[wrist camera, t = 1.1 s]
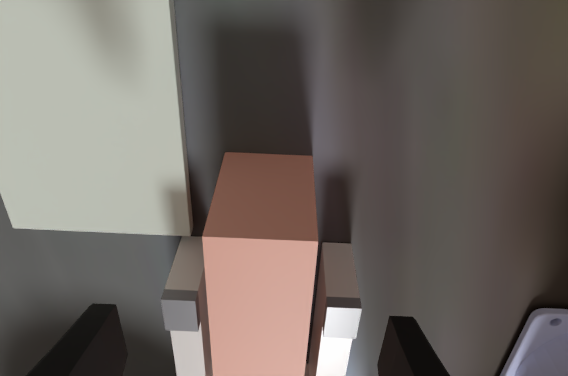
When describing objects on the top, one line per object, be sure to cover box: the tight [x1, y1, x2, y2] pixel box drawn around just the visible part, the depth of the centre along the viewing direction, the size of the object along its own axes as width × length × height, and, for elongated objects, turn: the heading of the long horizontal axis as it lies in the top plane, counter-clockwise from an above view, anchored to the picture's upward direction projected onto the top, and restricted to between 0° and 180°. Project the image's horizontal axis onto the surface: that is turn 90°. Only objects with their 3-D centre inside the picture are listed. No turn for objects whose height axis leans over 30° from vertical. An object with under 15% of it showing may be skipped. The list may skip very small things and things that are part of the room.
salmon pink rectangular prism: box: [202, 152, 318, 376], centre depth 17 cm, size 3×10×5 cm, turn 178°
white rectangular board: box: [0, 0, 193, 236], centre depth 14 cm, size 7×13×1 cm, turn 178°
